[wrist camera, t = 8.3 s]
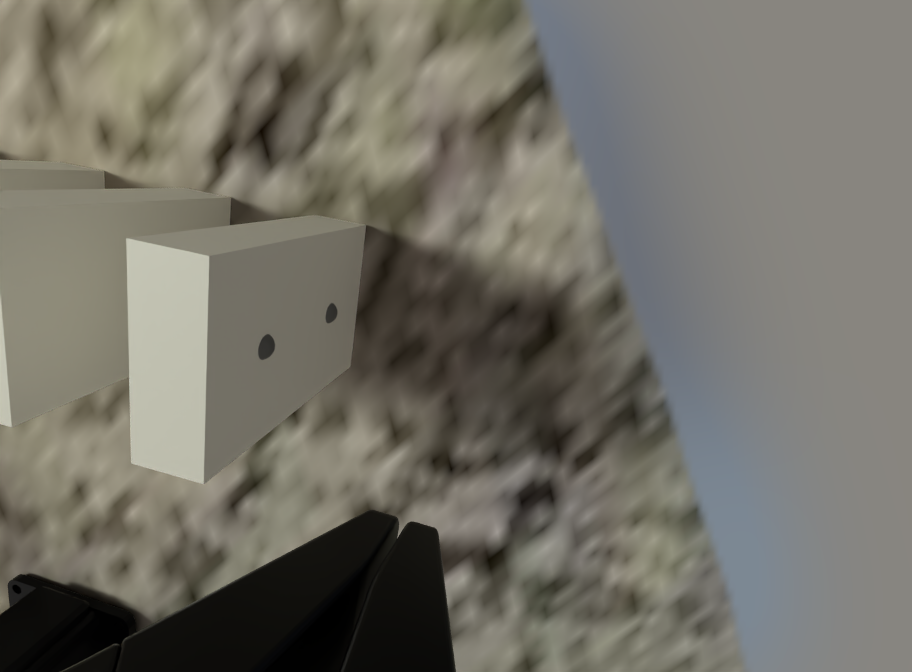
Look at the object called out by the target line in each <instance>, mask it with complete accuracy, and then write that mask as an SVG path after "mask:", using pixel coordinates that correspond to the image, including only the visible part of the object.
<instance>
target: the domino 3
mask: <svg viewBox="0 0 912 672" xmlns="http://www.w3.org/2000/svg"><path fill="white" fill-rule="evenodd" d="M365 233H366V225H365V224H360V223H354V222H349V221H344V220H339V219H334V218H329V217H324V216H319V215H310V216H302V217H294V218H286V219H278V220H270V221H262V222H253V223H245V224H237V225H229V226H221V227H213V228H205V229H196V230H188V231H180V232H172V233H164V234H156V235H148V236H139V237H131V238H126V249H127V295H128V342H129V388H130V435H131V463H132V464H135V465H139V466H142V467H146V468H149V469H153V470H156V471H159V472H163V473H166V474H170V475H173V476H177V477H180V478H184V479H187V480H190V481H194V482H197V483H201V484H205V483H206V482H207V481H208V480H210V479H211V478H212V477H213V476H215V475H216V474H217V473H218V472H220V471H221V470H222V469H223V468H225V467H226V466H227V465H228V464H230V463H231V462H232V461H233V460H235V459H236V458H237V457H238V456H240V455H241V454H242V453H243V452H245V451H246V450H247V449H248V448H250V447H251V446H252V445H253V444H255V443H256V442H257V441H258V440H260V439H261V438H262V437H263V436H265V435H266V434H267V433H268V432H270V431H271V430H272V429H273V428H275V427H276V426H277V425H278V424H280V423H281V422H282V421H283V420H285V419H286V418H287V417H288V416H290V415H291V414H292V413H293V412H295V411H296V410H297V409H298V408H300V407H301V406H302V405H303V404H305V403H306V402H307V401H308V400H310V399H311V398H312V397H313V396H315V395H316V394H317V393H318V392H320V391H321V390H322V389H323V388H325V387H326V386H327V385H328V384H330V383H331V382H332V381H333V380H335V379H336V378H337V377H338V376H340V375H341V374H342V373H343V372H345V371H346V370H347V369H348V368H350V367H351V359H352V350H353V341H354V332H355V323H356V314H357V305H358V296H359V287H360V278H361V269H362V260H363V251H364V242H365Z"/></svg>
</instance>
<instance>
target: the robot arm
mask: <svg viewBox="0 0 912 672" xmlns="http://www.w3.org/2000/svg"><path fill="white" fill-rule="evenodd" d="M398 530H399V521H398V518H397V517H396V516H393V515H389V514H386V513H383V512H379V511H376V510H369V511H366V512H364V513H362V514H360V515H359V516H357V517H355V518H353V519H351V520H349V521H347V522H345V523H343V524H341V525H340V526H338V527H336V528H334V529H332V530H330V531H328V532H326V533H324V534H323V535H321V536H319V537H317V538H315V539H313V540H311V541H309V542H307V543H305V544H304V545H302V546H300V547H298V548H296V549H294V550H292V551H290V552H288V553H286V554H285V555H283V556H281V557H279V558H277V559H275V560H273V561H271V562H269V563H267V564H266V565H264V566H262V567H260V568H258V569H256V570H254V571H252V572H250V573H248V574H247V575H245V576H243V577H241V578H239V579H237V580H235V581H233V582H231V583H229V584H228V585H226V586H224V587H222V588H220V589H218V590H216V591H214V592H212V593H210V594H209V595H207V596H205V597H203V598H201V599H199V600H197V601H195V602H193V603H191V604H190V605H188V606H186V607H184V608H182V609H180V610H178V611H176V612H174V613H172V614H171V615H169V616H167V617H165V618H163V619H161V620H159V621H157V622H155V623H153V624H152V625H150V626H148V627H146V628H144V629H142V630H140V631H138V632H136V622H135V619H134V617H133V615H132V614H131V613H129V612H128V611H126V610H123V609H120V608H117V607H114V606H111V605H109V604H106V603H103V602H100V601H97V600H94V599H92V598H89V597H86V596H83V595H80V594H77V593H74V592H72V591H69V590H66V589H63V588H60V587H57V586H55V585H52V584H49V583H46V582H43V581H40V580H37V579H35V578H32V577H29V576H26V575H22V574H20V575H18V576H16V577H15V578H13V579H12V580H11V581H10V582H9V583H8V593H9V603H10V608H8V609H7V610H6V611H4V612H3V613H2V614H0V672H456V669H455V661H454V653H453V645H452V637H451V630H450V622H449V614H448V606H447V598H446V590H445V582H444V574H443V567H442V559H441V551H440V543H439V535H438V531H437V530H436V529H435V528H434V527H430V526H427V525H423V524H420V523H417V522H408V523H407V524H406V526H405V527H404V529H403V530H402V532H401V534H400V535H399V537H398V538H397V536H398Z"/></svg>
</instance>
